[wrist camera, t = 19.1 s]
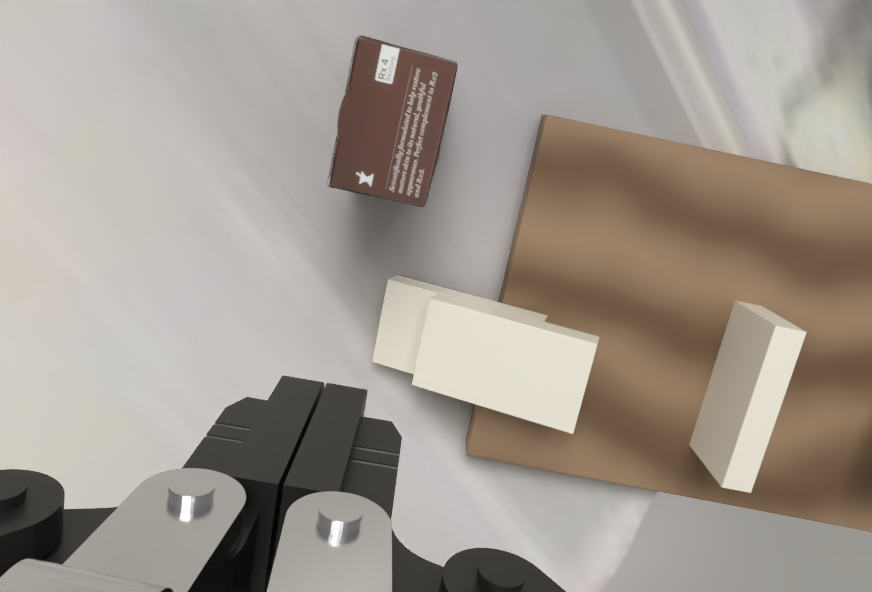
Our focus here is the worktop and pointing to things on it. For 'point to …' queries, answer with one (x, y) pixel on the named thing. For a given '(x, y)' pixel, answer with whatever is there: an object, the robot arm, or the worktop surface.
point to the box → (391, 122)
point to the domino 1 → (416, 319)
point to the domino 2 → (504, 361)
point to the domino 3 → (745, 394)
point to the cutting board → (693, 314)
